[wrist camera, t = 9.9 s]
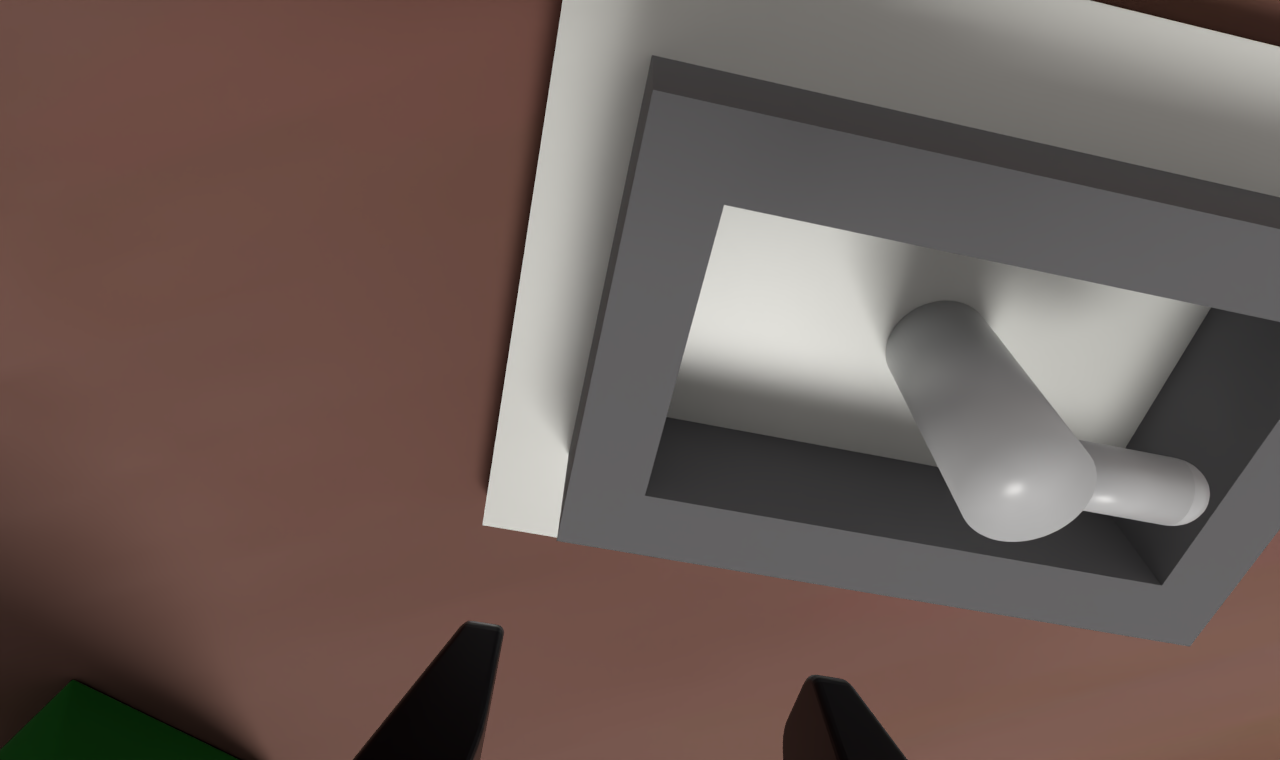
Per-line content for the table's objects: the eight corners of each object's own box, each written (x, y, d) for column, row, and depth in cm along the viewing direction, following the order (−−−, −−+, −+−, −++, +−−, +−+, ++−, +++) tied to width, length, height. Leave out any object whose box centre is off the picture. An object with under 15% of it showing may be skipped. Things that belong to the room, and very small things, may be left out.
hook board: (488, 499, 22) (439, 692, 17) (585, -124, 15) (552, -129, 10) (1137, 609, 23) (1276, 815, 18) (1494, 98, 17) (1881, 197, 11)
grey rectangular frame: (568, 454, 20) (556, 540, 17) (651, 54, 15) (652, 89, 13) (1122, 553, 21) (1189, 646, 19) (1347, 212, 17) (1476, 273, 14)
